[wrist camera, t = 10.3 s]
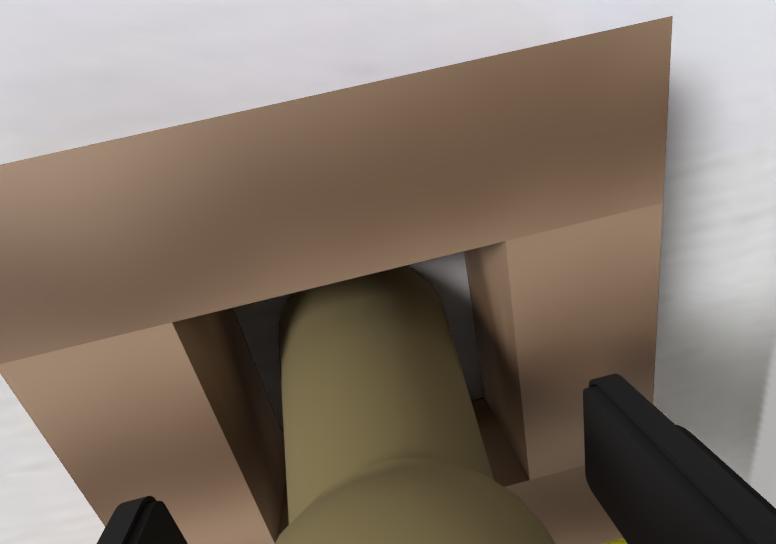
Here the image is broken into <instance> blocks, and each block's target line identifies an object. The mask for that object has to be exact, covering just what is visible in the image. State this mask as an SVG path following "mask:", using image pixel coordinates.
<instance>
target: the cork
mask: <svg viewBox="0 0 776 544" xmlns="http://www.w3.org/2000/svg"><path fill="white" fill-rule="evenodd" d="M279 354H280V373H281V391H282V409H283V427H284V445H285V464H286V482H287V500H288V518H289V525H288V526H287V527H286V529H285V530H284V531H283V532H282V533H281V534H280V535H279V537H278V539H277V541H276V543H275V544H555V542H554V540H553V539H552V537H551V536H550V534H549V532H548V531H547V529H546V528H545V526H544V525H543V523H542V522H541V521H540V520H539V519H538V518H537V517H536V515H535V514H534V513H533V512H532V511H531V510H530V509H529V508H528V506H527V505H526V504H525V503H524V502H523V501H522V500H521V498H520V497H518V496H517V495H515V494H514V493H512V492H511V491H509V490H508V489H506V488H505V487H503V486H502V485H500V484H499V483H497V482H496V481H494V478H493V475H492V472H491V468H490V465H489V461H488V458H487V454H486V451H485V447H484V444H483V441H482V437H481V434H480V430H479V427H478V423H477V420H476V416H475V413H474V409H473V406H472V403H471V399H470V396H469V392H468V389H467V385H466V382H465V378H464V375H463V371H462V368H461V365H460V361H459V358H458V354H457V351H456V347H455V344H454V340H453V337H452V334H451V330H450V327H449V323H448V320H447V316H446V313H445V309H444V306H443V304H442V302H441V301H440V299H439V297H438V295H437V294H436V292H435V290H434V289H433V287H432V285H431V284H430V283H428V282H427V281H426V280H425V279H424V278H422V277H421V276H420V275H419V274H418V273H416V272H415V271H414V270H413V269H411V268H409V267H406V266H402V267H397V268H393V269H389V270H385V271H381V272H377V273H373V274H369V275H365V276H360V277H356V278H352V279H348V280H344V281H340V282H336V283H332V284H328V285H324V286H319V287H315V288H311V289H307V290H303V291H299V292H295V293H294V294H293V295H292V296H291V297H290V298H289V301H288V303H287V305H286V308H285V310H284V313H283V315H282V318H281V320H280V329H279Z"/></svg>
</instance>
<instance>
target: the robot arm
mask: <svg viewBox="0 0 776 544" xmlns="http://www.w3.org/2000/svg"><path fill="white" fill-rule="evenodd" d="M583 416H584V449H585V475H586V480H587V483H588V485H589V487H590V489H591V491H592V493H593V494H594V496H595V497H596V499H597V500H598V501H599V503H600V504H601V506H602V507H603V509H604V510H605V512H606V513H607V515H608V516H609V517H610V519H611V520H612V522H613V523H614V525H615V526H616V528H617V529H618V531H619V532H620V533H621V535H622V536H623V538H624V539H625V541H626V542H627V544H776V509H775V508H774V507H773V506H772V505H771V504H770V503H769V502H768V501H767V500H766V499H764V498H763V497H762V496H761V495H760V494H759V493H758V492H757V491H755V490H754V489H753V488H752V487H751V486H750V485H749V484H748V483H746V482H745V481H744V480H743V479H742V478H741V477H740V476H739V475H738V474H736V473H735V472H734V471H733V470H732V469H731V468H730V467H729V466H727V465H726V464H725V463H724V462H723V461H722V460H721V459H720V458H719V457H717V456H716V455H715V454H714V453H713V452H712V451H711V450H710V449H708V448H707V447H706V446H705V445H704V444H703V443H702V442H701V441H700V440H698V439H697V438H696V437H695V436H694V435H693V434H692V433H690V432H689V431H688V430H686V429H685V428H683V427H681V426H678V425H675V424H674V423H673V422H671V421H670V420H669V419H668V418H667V417H666V416H665V415H664V414H663V413H662V412H660V411H659V410H658V409H657V408H656V407H655V406H654V405H653V404H652V403H651V402H650V401H648V400H647V399H646V398H645V397H644V396H643V395H642V394H641V393H640V392H639V391H637V390H636V389H635V388H634V387H633V386H632V385H631V384H630V383H629V382H628V381H626V380H625V379H624V378H623V377H622V376H621V375H619V374H616V373H615V374H611V375H607V376H603V377H599V378H595V379H592V380H590V381H589V385H588V388H585V389H584V390H583ZM97 544H188V543H187V541H186V539H185V538H184V536H183V534H182V533H181V531H180V529H179V528H178V526H177V524H176V522H175V521H174V519H173V517H172V516H171V514H170V512H169V510H168V509H167V507H166V505H165V504H164V503H163V501H157V500H156V499H155V498H154V497H152V496H146V497H142V498H139V499H135V500H131V501H127V502H123V503H121V504H120V505H118V506H117V508H116V509H115V510H114V512H113V514H112V516H111V518H110V520H109V522H108V524H107V525H106V527H105V529H104V531H103V533H102V535H101V537H100V539H99V541H98V542H97Z"/></svg>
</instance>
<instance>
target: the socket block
mask: <svg viewBox="0 0 776 544" xmlns="http://www.w3.org/2000/svg"><path fill="white" fill-rule="evenodd" d="M671 35H672V16H671V17H666V18H662V19H657V20H652V21H648V22H643V23H639V24H634V25H630V26H625V27H621V28H616V29H612V30H607V31H603V32H598V33H594V34H589V35H585V36H580V37H576V38H571V39H567V40H562V41H558V42H553V43H549V44H544V45H540V46H535V47H531V48H526V49H522V50H517V51H512V52H508V53H503V54H499V55H494V56H490V57H485V58H481V59H476V60H472V61H467V62H463V63H458V64H454V65H449V66H445V67H440V68H436V69H431V70H427V71H422V72H418V73H413V74H409V75H404V76H400V77H395V78H391V79H386V80H382V81H377V82H372V83H368V84H363V85H359V86H354V87H350V88H345V89H341V90H336V91H332V92H327V93H323V94H318V95H314V96H309V97H305V98H300V99H296V100H291V101H287V102H282V103H278V104H273V105H269V106H264V107H260V108H255V109H251V110H246V111H241V112H237V113H232V114H228V115H223V116H219V117H214V118H210V119H205V120H201V121H196V122H192V123H187V124H183V125H178V126H174V127H169V128H165V129H160V130H156V131H151V132H147V133H142V134H138V135H133V136H129V137H124V138H120V139H115V140H111V141H106V142H101V143H97V144H92V145H88V146H83V147H79V148H74V149H70V150H65V151H61V152H56V153H52V154H47V155H43V156H38V157H34V158H29V159H25V160H20V161H16V162H11V163H7V164H2V165H0V374H1V375H2V376H3V378H4V379H5V381H6V382H7V384H8V385H9V387H10V388H11V390H12V391H13V393H14V394H15V395H16V397H17V398H18V400H19V401H20V403H21V404H22V406H23V407H24V409H25V410H26V412H27V413H28V414H29V416H30V417H31V419H32V420H33V422H34V423H35V425H36V426H37V428H38V429H39V431H40V432H41V433H42V435H43V436H44V438H45V439H46V441H47V442H48V444H49V445H50V447H51V448H52V450H53V451H54V452H55V454H56V455H57V457H58V458H59V460H60V461H61V463H62V464H63V466H64V467H65V469H66V470H67V471H68V473H69V474H70V476H71V477H72V479H73V480H74V482H75V483H76V485H77V486H78V488H79V489H80V490H81V492H82V493H83V495H84V496H85V498H86V499H87V501H88V502H89V504H90V505H91V507H92V508H93V509H94V511H95V512H96V514H97V515H98V517H99V518H100V520H101V521H102V523H103V524H104V526H105V527H106V525H107V524H108V522H109V520H110V518H111V516H112V514H113V512H114V510H115V509H116V508H117V506H118V505H120V504H121V503H123V502H127V501H131V500H135V499H139V498H142V497H146V496H152V497H154V498H155V499H156V500H157V501H163V503H164V504H165V505H166V507H167V509H168V510H169V512H170V514H171V516H172V517H173V519H174V521H175V522H176V524H177V526H178V528H179V529H180V531H181V533H182V534H183V536H184V538H185V539H186V541H187V543H188V544H275V543H276V541H277V539H278V537H279V535H280V534H281V533H282V532H283V531H284V530H285V529H286V527H287V526H288V525H289V518H288V500H287V482H286V464H285V445H284V437H283V434H282V432H281V429H280V427H279V424H278V422H277V419H276V417H275V414H274V412H273V409H272V406H271V404H270V401H269V399H268V396H267V394H266V391H265V389H264V386H263V384H262V381H261V379H260V376H259V373H258V371H257V368H256V366H255V363H254V361H253V358H252V356H251V353H250V351H249V348H248V346H247V343H246V340H245V338H244V335H243V333H242V330H241V328H240V325H239V323H238V320H237V318H236V315H235V313H234V310H233V307H237V306H241V305H246V304H250V303H254V302H258V301H262V300H266V299H270V298H274V297H278V296H283V295H287V294H291V293H295V292H299V291H303V290H307V289H311V288H315V287H319V286H324V285H328V284H332V283H336V282H340V281H344V280H348V279H352V278H356V277H360V276H365V275H369V274H373V273H377V272H381V271H385V270H389V269H393V268H397V267H402V266H406V265H410V264H414V263H418V262H422V261H426V260H430V259H434V258H438V257H443V256H447V255H451V254H455V253H459V252H463V251H464V254H465V261H466V268H467V275H468V282H469V289H470V296H471V303H472V310H473V316H474V323H475V330H476V337H477V344H478V351H479V358H480V365H481V372H482V379H483V386H484V393H485V398H484V399H480V400H476V401H472V402H471V403H472V406H473V409H474V413H475V416H476V420H477V423H478V427H479V430H480V434H481V437H482V441H483V444H484V447H485V451H486V454H487V458H488V461H489V465H490V468H491V472H492V475H493V478H494V481H496V482H497V483H499V484H500V485H502V486H503V487H505V488H506V489H508V490H509V491H511V492H512V493H514V494H515V495H517V496H518V497H520V498H521V500H522V501H523V502H524V503H525V504H526V505H527V506H528V508H529V509H530V510H531V511H532V512H533V513H534V514H535V515H536V517H537V518H538V519H539V520H540V521H541V522H542V523H543V525H544V526H545V528H546V529H547V531H548V532H549V534H550V536H551V537H552V539H553V540H554V542H555V544H604V543H607V542H611V541H615V540H618V539H622V538H623V536H622V535H621V533H620V532H619V531H618V529H617V528H616V526H615V525H614V523H613V522H612V520H611V519H610V517H609V516H608V515H607V513H606V512H605V510H604V509H603V507H602V506H601V504H600V503H599V501H598V500H597V499H596V497H595V496H594V494H593V493H592V491H591V489H590V487H589V485H588V483H587V480H586V475H585V449H584V416H583V390H584V389H585V388H588V385H589V381H590V380H592V379H595V378H599V377H603V376H607V375H611V374H615V373H616V374H619V375H621V376H622V377H623V378H624V379H625V380H626V381H628V382H629V383H630V384H631V385H632V386H633V387H634V388H635V389H636V390H637V391H639V392H640V393H641V394H642V395H643V396H644V397H645V398H646V399H647V400H648V401H650V402H651V403H652V404H653V390H654V371H655V351H656V331H657V312H658V292H659V272H660V252H661V233H662V213H663V193H664V173H665V154H666V134H667V114H668V95H669V75H670V55H671Z"/></svg>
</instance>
